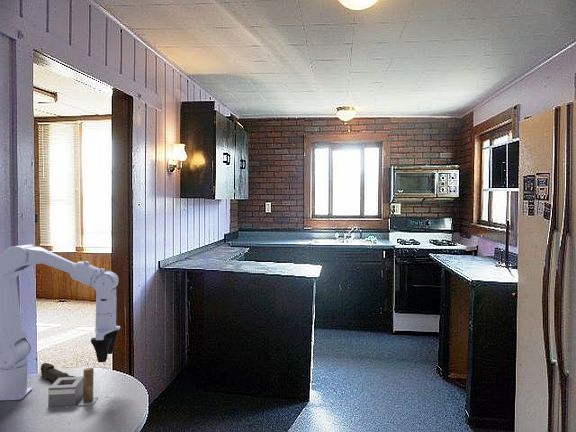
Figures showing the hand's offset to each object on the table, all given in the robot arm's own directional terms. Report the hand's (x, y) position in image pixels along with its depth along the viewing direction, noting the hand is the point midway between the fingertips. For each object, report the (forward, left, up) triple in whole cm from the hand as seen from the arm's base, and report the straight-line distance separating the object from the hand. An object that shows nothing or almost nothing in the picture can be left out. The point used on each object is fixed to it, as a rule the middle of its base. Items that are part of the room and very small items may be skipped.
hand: (105, 357), depth 132 cm
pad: (-3, -7, -10) cm, 13 cm away
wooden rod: (-3, -7, -10) cm, 12 cm away
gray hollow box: (-10, -4, -10) cm, 15 cm away
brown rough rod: (-18, +10, -11) cm, 23 cm away
